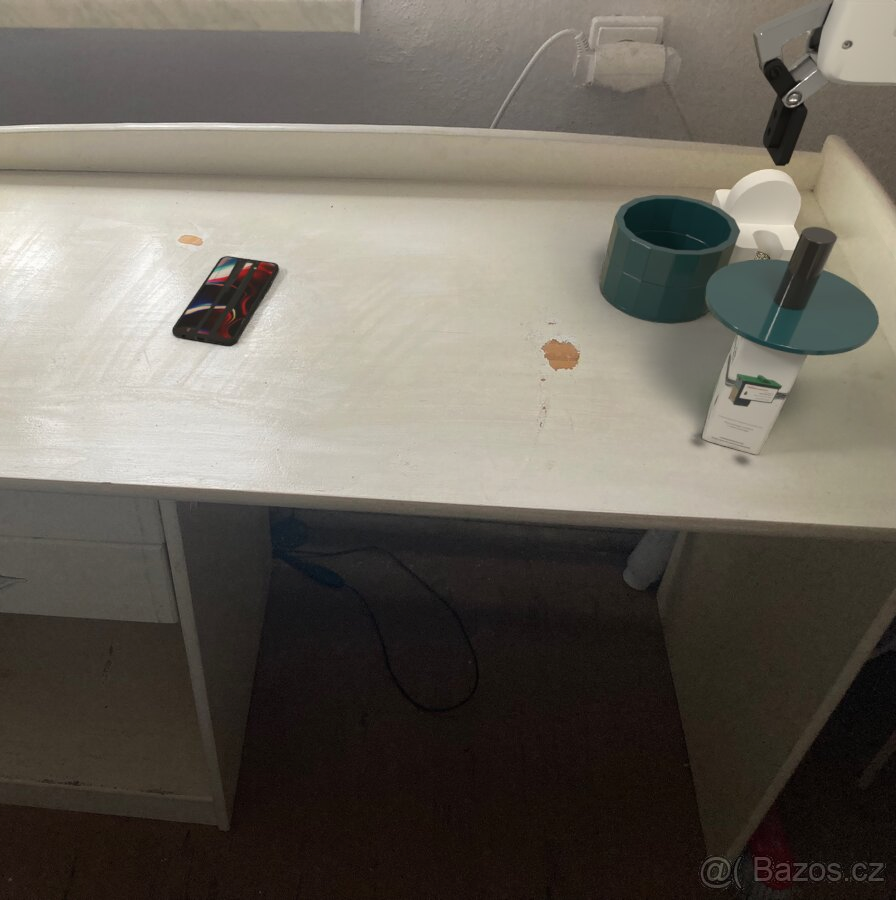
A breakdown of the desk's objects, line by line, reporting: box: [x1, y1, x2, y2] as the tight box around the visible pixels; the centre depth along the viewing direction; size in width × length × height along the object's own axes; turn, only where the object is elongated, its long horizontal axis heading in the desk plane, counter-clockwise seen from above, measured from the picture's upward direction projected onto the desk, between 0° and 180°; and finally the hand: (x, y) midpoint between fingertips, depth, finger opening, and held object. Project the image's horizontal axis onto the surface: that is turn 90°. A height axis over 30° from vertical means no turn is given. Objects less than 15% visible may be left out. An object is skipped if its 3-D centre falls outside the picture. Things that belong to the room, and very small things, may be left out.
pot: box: [599, 194, 740, 324], centre depth 89 cm, size 12×12×8 cm
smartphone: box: [171, 255, 280, 346], centre depth 93 cm, size 7×1×15 cm
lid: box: [705, 226, 880, 356], centre depth 67 cm, size 13×13×6 cm
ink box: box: [701, 334, 808, 455], centre depth 73 cm, size 9×5×12 cm, turn 153°
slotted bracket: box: [710, 168, 802, 265], centre depth 95 cm, size 13×7×8 cm, turn 171°
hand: (850, 158), depth 59 cm, fingers open, 9 cm apart
